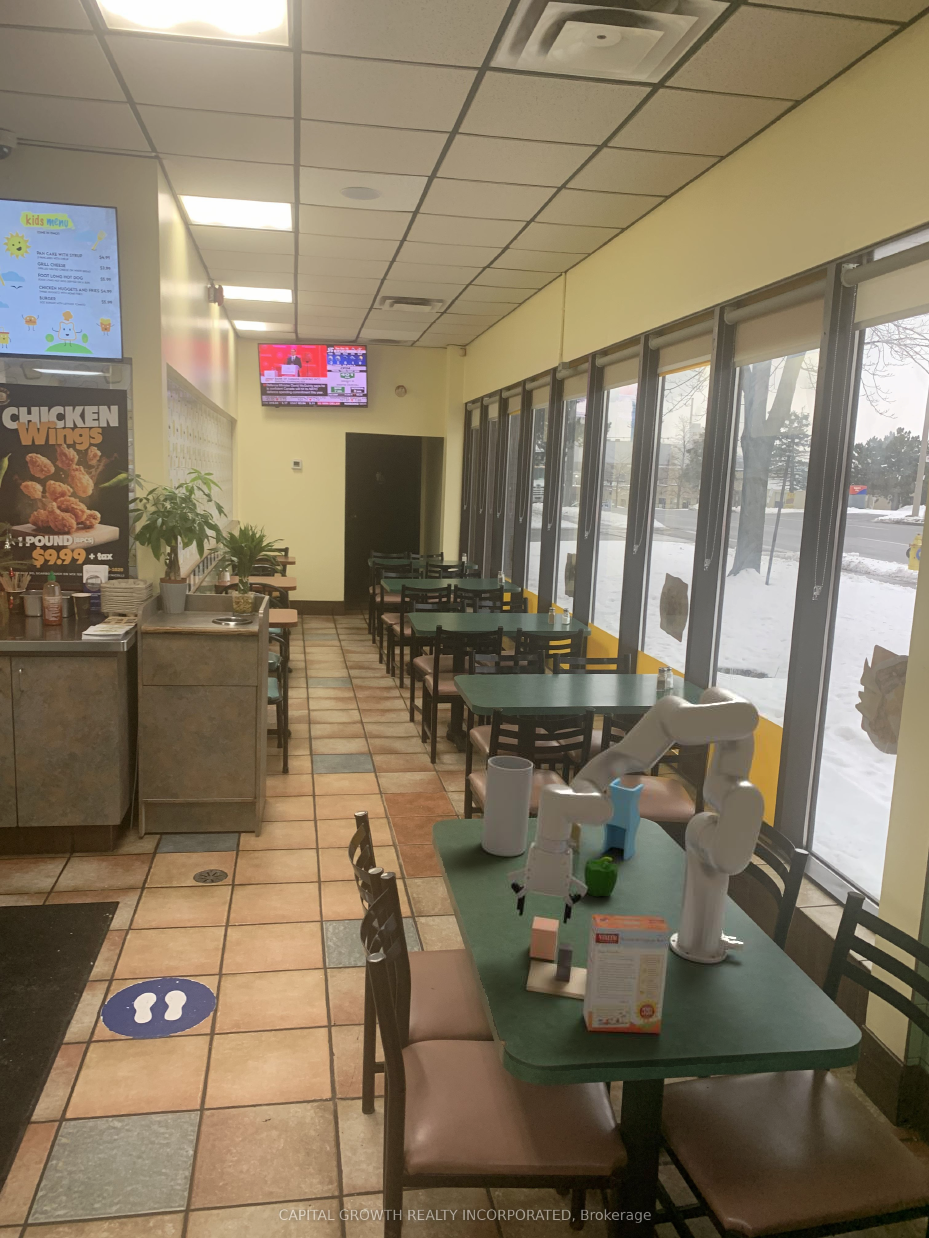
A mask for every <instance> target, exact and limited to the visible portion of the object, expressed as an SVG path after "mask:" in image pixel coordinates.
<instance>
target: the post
mask: <svg viewBox="0 0 929 1238" xmlns="http://www.w3.org/2000/svg"><path fill="white" fill-rule="evenodd" d="M573 949H574V943H569V942H563V941H559V944H558V952H557V953H558V954H557V963H551V962H544V961H538V960H531V961H530V962H531V963H530V967H529V972H528V976H527V982H526V987H525V988H526V989H525V990H527V991H530V992H531V991H532V992H538V993H544V994H549V995H554V996H555V995H556V996H560V997H561V996H562V997H568V998H574V999H580V1000H584V997H585V986H586V975H587V968H583V967H576V966H572V961H573V951H574V950H573Z"/></svg>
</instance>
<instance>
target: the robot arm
mask: <svg viewBox="0 0 929 1238" xmlns="http://www.w3.org/2000/svg"><path fill="white" fill-rule="evenodd" d="M759 722H760V716H759V711H758V709H757V708H756V706H755V705H754V704H753V703H752V702H751V701H749V700H748V699H747V698H744V697H742V696H740V695H739V694H738V693H735V692H733V691H731V690H729V689H727V688H724V687H721V686H710V687H708V688H706V689H704V691H703V692H702V693H701V695H700V698H699V702H698V704H692V703H691V702H689V701H688V700H686V699H684V698H682V697H680V696H677V695H669V694H668V695H664V696H662V697H661V698H660V699H658V700H657V701H656V702H655V703H654V704H653V705H652V706H651V708H649V710H648V711H647V712H646V713H645V714H644V715H643V716H642V717H641V719H640V720H639V721H638V722H637V723H636V724H635V725H634V727H632V729H631V730H630V731H628V733H627V734H626V735H625V736H624V737H623V738H622V740H620V742H618V743H616V744H614V745H612V746H610V747H609V748H607V749H605V750H604V751H601V752H600V753H598V754H597V755H595V756H594V757H593V758H592V759H590V760H589V761H588V762H587V763H586V764H585V765H584V766H583V767H582V768H581V770H579V772H578V773H577V774H576V775H575V776H574V777H573V778H572V781H570V783H569V785H565V784H561V783H548V784H546V785H544V786H542V788H541V789H540V795H539V801H538V811H537V817H536V827H535V834H534V835H535V836H534V841H532V842H531V843H530V846H529V848H528V849H529V850H528V853H527V854H528V855H527V856H526V857H527V858H526V864H525V867H524V868H520V869H517V870H514V871H511V872H509V873H508V874H507V879H508V882H509V885H510V888H511V889H512V890H513V892H514V893H515V894H516V897H517V903H516V910H517V911H518V912H519V914H518V916H519V917H520V916H521V917H522V916H523V915H524V911H525V903H526V894H527V893H528V892H531V893H536V894H540V895H541V894H542V895H547V896H552V897H558V898H559V897H560V898H563V900H564V901H565V905H564V906H565V907H564V914H563V915H564V916H563V921H562V923H563V924H565V925H567V922H568V920H570V919H571V917H572V909H573V907H574V905H575V904H577V903H578V902H579V901H581V900H582V899H583V897H584V896H585V895H586V893H588V892H587V888H588V887H587V886H586V885H585V883H583V882H581V881H580V880H579V879H577V877H575V876H573V871H574V870H573V868H574V853H573V849H572V848H577V843H578V840H574V839H573V838H572V837H571V835H572V829H573V824H577V825H581V826H582V825H583V826H585V827H590V828H598V827H604V825H605V824H607V823H608V822H609V821H610V820H611V819H612V817H613V813H614V809H613V805H612V802H611V801H610V797H608V795H607V794H606V793H605V791H606V789H608V788H609V785H610V784H611V783H612V782H613V781H615V780H616V779H618V778H619V779H620V777H622V776H624V775H627V774H629V773H630V774H631V773H638V772H639V773H640V772H645V771H649V770H651V769H652V768H653V767H654V766H655V765H656V763H657V762H658V761H659V760H660V759H661V758H662V757H663V756H664V755H665V753H666V752H667V751H668V750H669V749H670V748H671V747H672V746H673V745H674V744H675V743H677V744H678V745H679V744H680V745H683V746H699V745H701V746H702V745H709V744H713V749H712V754H711V758H710V762H709V766H708V770H707V772H706V776H705V779H704V784H703V788H702V795H703V798H704V799H703V800H704V801H705V802H706V804H708V805H709V807H711V808H712V809H713V810H714V811H715V812H716V813H715V812H712V811H702V812H699V813H696V814H695V815H694V816H693V817H691V819H689V822H688V823H687V826H686V829H685V835H684V840H685V841H684V843H685V844H684V845H685V866H684V867H685V868H684V877H683V884H682V885H683V886H682V895H681V902H680V903H681V904H680V913H679V921H678V931H677V932H676V933H675V932H674V934H672V935H671V936H670V937H669V947H670V949H671V950H672V951H673V952H674V953H675V954H676V955H678V956H679V957H681V958H682V959H686V960H689V961H691V962H694V963H701V964H717V963H720V962H722V961H724V960H725V959H726V958H727V956H728V950H734V951H738V952H743V950H744V942H743V941H738V940H737V937H736V936H728V935H726V934H724V931H723V930H724V921H725V913H726V906H727V905H726V904H727V903H726V902H727V895H728V889H729V882H730V881H729V879H730V876H734V875H738V874H740V873H742V871H744V870H745V869H746V868H747V867H748V865H749V864H750V862H751V860H752V857H753V855H754V852H755V849H756V845H757V842H758V838H759V834H760V831H761V827H762V824H763V820H764V816H765V807H766V805H765V804H766V803H765V799H764V795H763V793H762V791H761V790H760V789H759V788H758V786H757V785H755V784H754V783H752V782H751V781H750V773H751V768H752V764H753V758H754V755H755V754H754V753H755V736H754V735H755V734H754V731H755V730H757V728H758V725H759ZM522 877H523V884H522V885H520V884H519V883H518V882H517V879H519V878H522ZM572 886H573V887H574V888H576V889H578V891H577V892H576V893H575V894H572V893H571V889H572Z"/></svg>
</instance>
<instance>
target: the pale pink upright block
mask: <svg viewBox="0 0 929 1238" xmlns="http://www.w3.org/2000/svg"><path fill="white" fill-rule="evenodd" d="M559 924H560V920H559V919H553V918H548V917H547V918H546V917H541V916H534V918H533V922H532V927H531V935H530V937H531V938H530V945H529V946H530V950H529V957H530V958H537V959H541V960H542V959H543V960H547V961H548V960H550V961H555V960H556V953H557V947H558V946H557V945H558V935H559V934H558V933H559Z"/></svg>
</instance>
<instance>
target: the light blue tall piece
mask: <svg viewBox="0 0 929 1238" xmlns="http://www.w3.org/2000/svg"><path fill="white" fill-rule="evenodd" d="M643 788H644V784H642V783H641V784H639V785H637V786H636V787H634V788H627V787H623V786H621V778H620V777H619V778H617V779H616V780H615V781H613V782H612V783H611V784H610V785H609V786H608V789H609V799H610V801H611V802H612V805H613V809H614V813H613V817H612V819H611V820H610V821H609V822H608V823H607V824H605V825H603V830H604V838H603V839H604V840H603V844H602V847H601V849H600V853H601V854H605V853H606V852H607V851H608V850H609V849H610V848H619V849H621V850H623V860H625V861H627V860H629V859H630V858H631V857H633V856H634V854H636V845H635V843H636V842H635V841H636V835H637V831H638V828H639V825H640V823H641V815H640V812H639V801H640V795H641V793H642V790H643Z"/></svg>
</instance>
